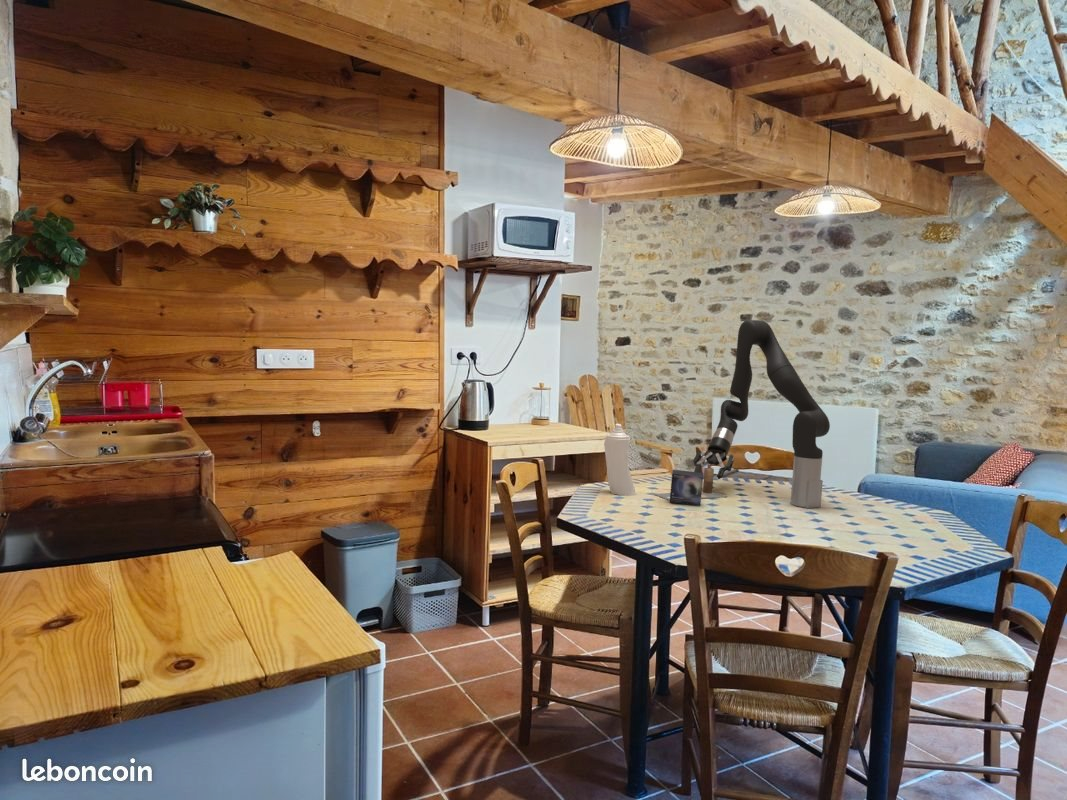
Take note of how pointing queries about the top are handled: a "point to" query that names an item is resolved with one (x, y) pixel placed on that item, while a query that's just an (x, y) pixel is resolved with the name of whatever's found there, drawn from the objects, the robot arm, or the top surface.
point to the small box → (686, 487)
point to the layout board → (703, 496)
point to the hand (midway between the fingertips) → (707, 476)
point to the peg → (708, 480)
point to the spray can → (618, 462)
